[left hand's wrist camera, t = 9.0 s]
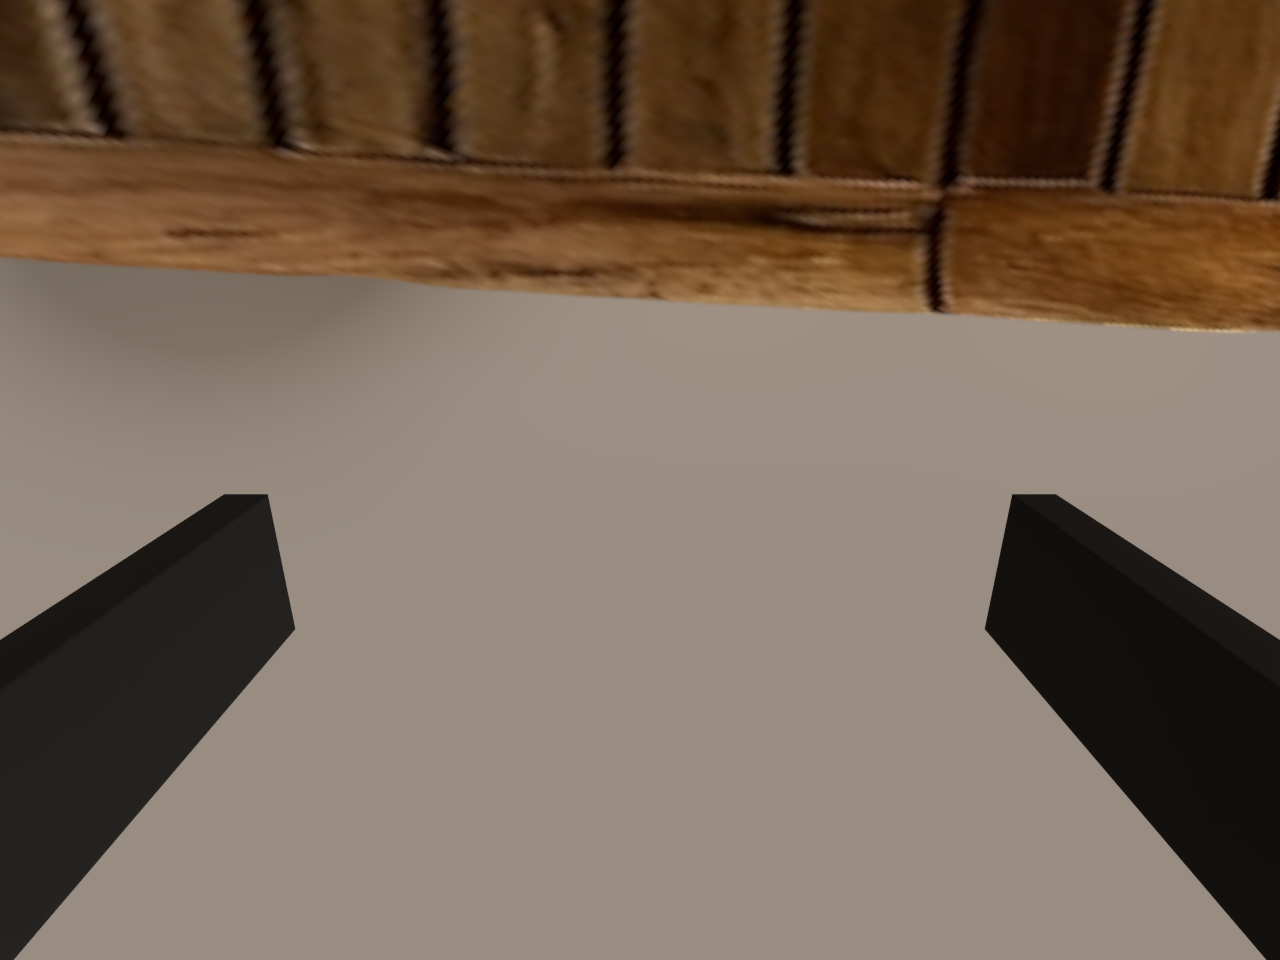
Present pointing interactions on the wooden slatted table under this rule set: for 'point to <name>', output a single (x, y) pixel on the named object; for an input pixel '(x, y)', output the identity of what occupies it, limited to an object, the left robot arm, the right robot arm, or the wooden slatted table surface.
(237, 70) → the wooden slatted table surface
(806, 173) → the wooden slatted table surface
